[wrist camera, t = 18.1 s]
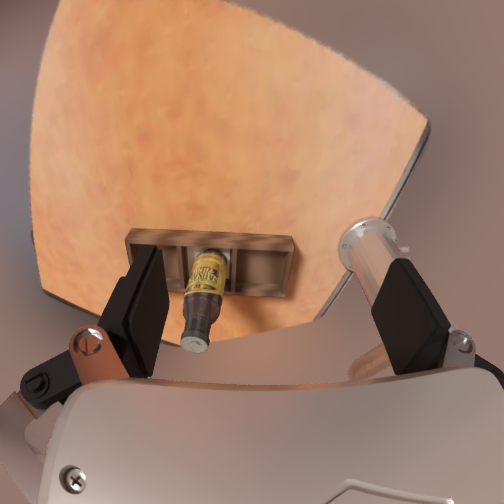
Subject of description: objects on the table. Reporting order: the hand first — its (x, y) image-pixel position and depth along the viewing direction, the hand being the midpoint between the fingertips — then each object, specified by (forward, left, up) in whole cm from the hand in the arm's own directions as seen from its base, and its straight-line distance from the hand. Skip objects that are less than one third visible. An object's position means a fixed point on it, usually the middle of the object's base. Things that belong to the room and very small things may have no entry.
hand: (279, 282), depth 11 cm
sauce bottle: (+7, +25, -35) cm, 44 cm away
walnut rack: (+7, +25, -36) cm, 45 cm away
